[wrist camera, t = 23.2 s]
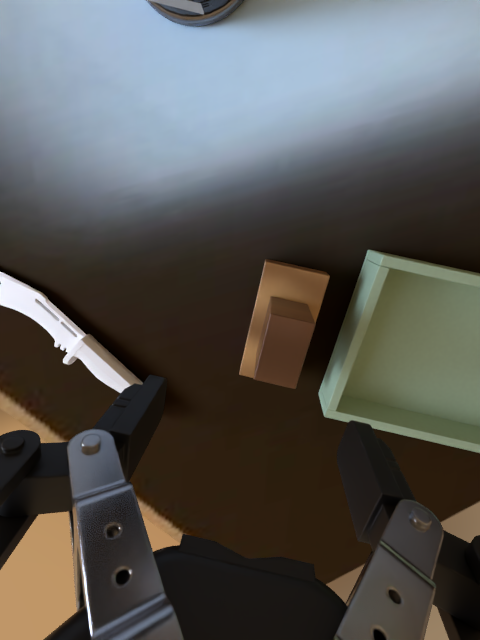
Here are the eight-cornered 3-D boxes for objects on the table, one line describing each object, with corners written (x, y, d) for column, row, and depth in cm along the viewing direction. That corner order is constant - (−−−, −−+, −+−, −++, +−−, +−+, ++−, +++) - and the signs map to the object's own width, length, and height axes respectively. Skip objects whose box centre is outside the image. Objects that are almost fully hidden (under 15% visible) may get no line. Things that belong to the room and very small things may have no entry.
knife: (-131, 239, 28) (-101, 172, 25) (-109, 238, 29) (-79, 175, 27) (115, 450, 32) (162, 411, 29) (123, 440, 33) (168, 401, 31)
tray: (367, 249, 25) (383, 254, 21) (609, 301, 24) (664, 316, 21) (318, 393, 29) (324, 416, 26) (518, 439, 29) (551, 469, 26)
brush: (265, 256, 26) (263, 272, 19) (323, 269, 26) (343, 290, 18) (241, 359, 29) (232, 405, 22) (292, 371, 29) (299, 421, 22)
